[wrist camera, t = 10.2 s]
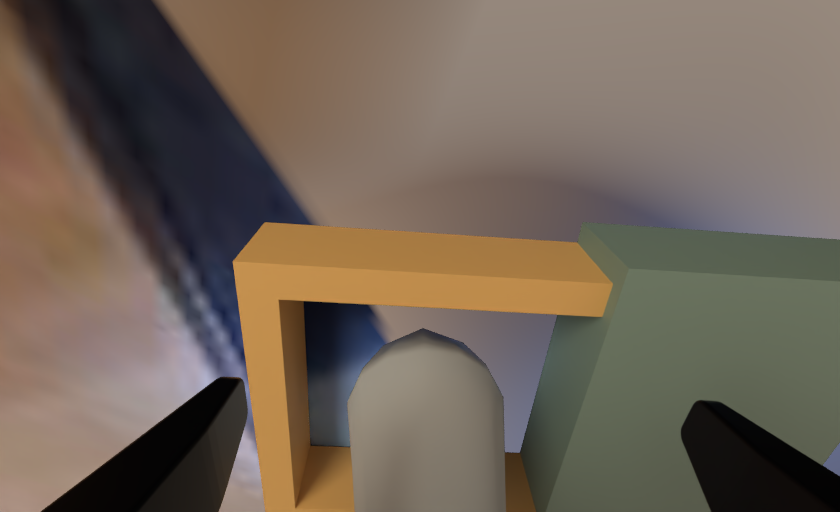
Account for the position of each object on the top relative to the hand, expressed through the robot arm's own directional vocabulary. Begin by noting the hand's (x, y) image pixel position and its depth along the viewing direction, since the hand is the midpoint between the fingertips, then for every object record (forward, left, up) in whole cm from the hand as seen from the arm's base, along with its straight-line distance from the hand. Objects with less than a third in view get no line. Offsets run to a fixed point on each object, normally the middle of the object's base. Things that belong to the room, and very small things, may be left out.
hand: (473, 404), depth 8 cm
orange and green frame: (-6, -5, -8) cm, 11 cm away
